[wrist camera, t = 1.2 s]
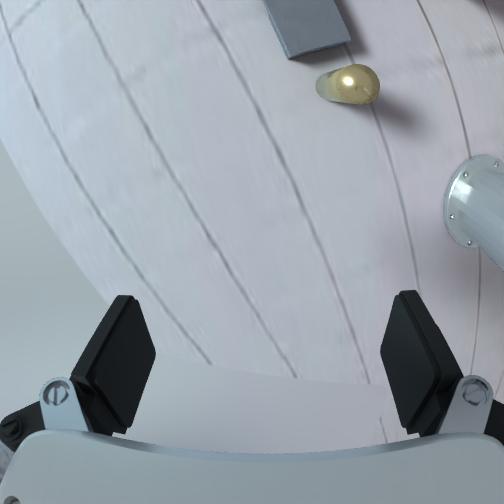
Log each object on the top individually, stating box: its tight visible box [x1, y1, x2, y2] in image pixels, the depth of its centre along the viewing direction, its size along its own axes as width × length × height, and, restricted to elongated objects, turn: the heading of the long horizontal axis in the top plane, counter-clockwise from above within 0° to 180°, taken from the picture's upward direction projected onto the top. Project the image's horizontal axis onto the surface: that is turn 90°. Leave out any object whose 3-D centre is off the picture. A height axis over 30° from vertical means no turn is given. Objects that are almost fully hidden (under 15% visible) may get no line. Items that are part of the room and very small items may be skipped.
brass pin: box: [316, 64, 380, 105], centre depth 22 cm, size 3×3×10 cm
